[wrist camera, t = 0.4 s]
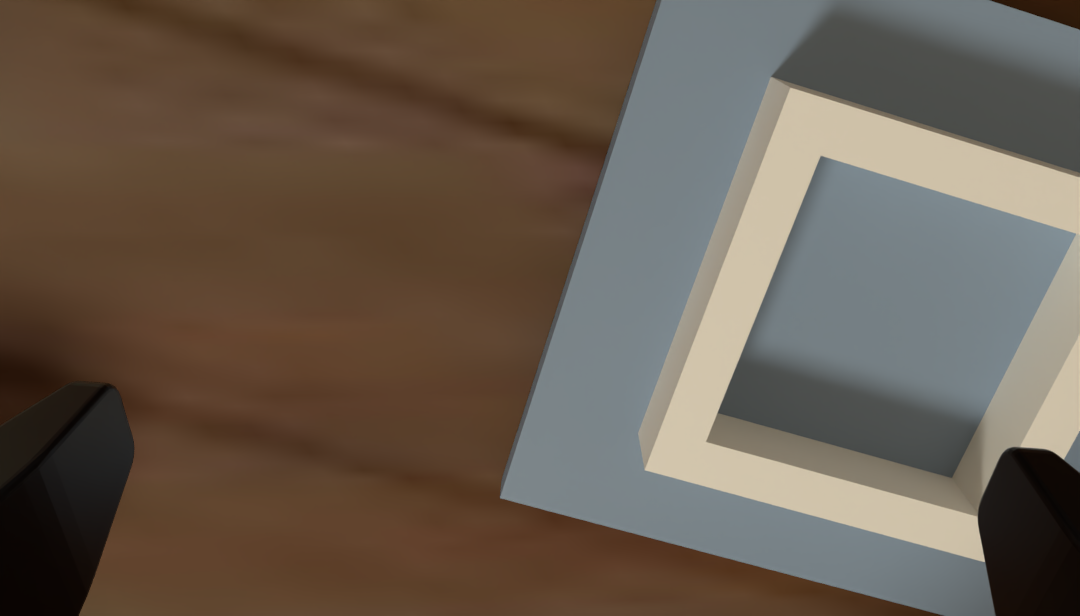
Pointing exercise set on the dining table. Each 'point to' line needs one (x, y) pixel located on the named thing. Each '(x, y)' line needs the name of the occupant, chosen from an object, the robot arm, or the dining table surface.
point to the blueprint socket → (821, 291)
